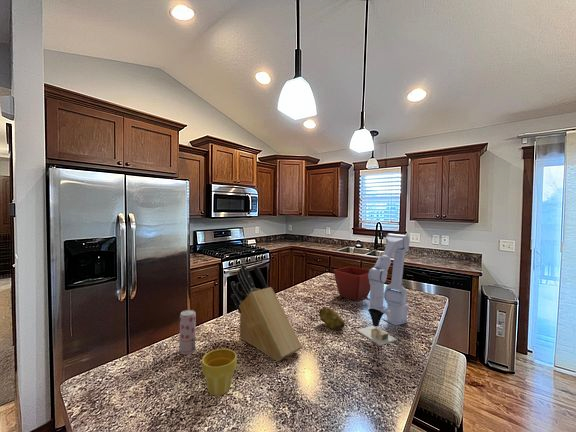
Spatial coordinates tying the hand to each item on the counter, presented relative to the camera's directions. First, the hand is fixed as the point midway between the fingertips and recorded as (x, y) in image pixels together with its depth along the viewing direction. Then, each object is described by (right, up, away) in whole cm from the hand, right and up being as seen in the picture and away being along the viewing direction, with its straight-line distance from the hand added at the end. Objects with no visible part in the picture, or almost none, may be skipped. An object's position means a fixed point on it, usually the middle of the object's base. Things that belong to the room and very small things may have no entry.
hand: (375, 325), depth 116 cm
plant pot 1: (-60, -4, -36) cm, 70 cm away
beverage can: (-78, -3, -16) cm, 79 cm away
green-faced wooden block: (0, -3, 0) cm, 3 cm away
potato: (-19, -4, +8) cm, 21 cm away
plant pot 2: (+3, -3, +51) cm, 51 cm away
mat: (0, -4, 0) cm, 4 cm away
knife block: (-50, -4, -8) cm, 51 cm away
